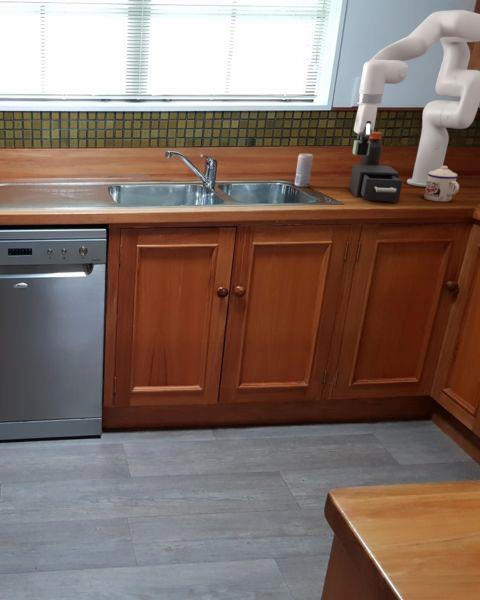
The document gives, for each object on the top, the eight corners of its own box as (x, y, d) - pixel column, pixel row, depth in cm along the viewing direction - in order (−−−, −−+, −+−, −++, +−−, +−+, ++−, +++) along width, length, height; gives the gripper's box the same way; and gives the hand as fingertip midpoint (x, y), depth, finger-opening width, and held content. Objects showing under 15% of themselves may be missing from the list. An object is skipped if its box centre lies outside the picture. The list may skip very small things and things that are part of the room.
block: (352, 152, 218) (354, 140, 216) (365, 153, 217) (368, 140, 215) (354, 154, 214) (356, 141, 212) (368, 155, 213) (370, 142, 211)
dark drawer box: (393, 198, 216) (399, 173, 213) (356, 197, 219) (360, 171, 215) (384, 190, 229) (389, 165, 226) (348, 188, 232) (352, 164, 228)
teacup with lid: (416, 197, 218) (423, 164, 214) (437, 195, 221) (444, 163, 216) (443, 204, 208) (451, 170, 203) (464, 203, 210) (473, 169, 206)
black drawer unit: (402, 204, 204) (406, 183, 201) (365, 203, 206) (369, 181, 203) (389, 193, 220) (393, 173, 217) (355, 191, 223) (359, 171, 220)
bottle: (353, 185, 237) (362, 132, 230) (359, 182, 242) (368, 130, 235) (371, 187, 233) (381, 134, 226) (377, 184, 238) (387, 132, 230)
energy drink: (307, 184, 238) (311, 153, 234) (310, 187, 233) (315, 155, 229) (293, 184, 239) (297, 153, 234) (296, 187, 234) (300, 155, 229)
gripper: (353, 97, 216) (345, 149, 223) (362, 101, 201) (353, 157, 208) (376, 98, 215) (367, 150, 222) (386, 101, 200) (376, 158, 207)
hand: (360, 153), depth 215 cm, fingers closed on block, 4 cm apart
